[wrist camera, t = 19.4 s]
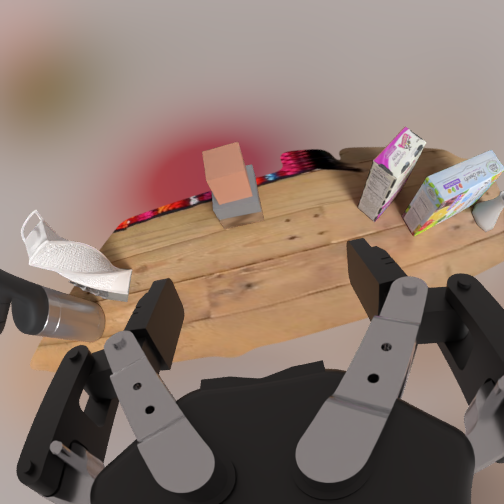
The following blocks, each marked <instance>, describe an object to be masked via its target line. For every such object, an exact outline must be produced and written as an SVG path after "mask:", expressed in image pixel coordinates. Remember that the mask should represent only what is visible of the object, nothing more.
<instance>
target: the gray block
mask: <svg viewBox="0 0 504 504" xmlns="http://www.w3.org/2000/svg"><path fill="white" fill-rule="evenodd" d="M245 167H246V170H247V174H248V179H249V183H250V187H251V191H252V195H253V196H252V197H248V198H244V199H240V200H236V201H232V202H229V203H225V204H221V205H219V203H218V201H217V200H216V198H215V196H214V194H213V192H212V201H213V211H214V212H215V214H216V216H217V217H218V219H219V220H221V219H226V218H231V217H236V216H241V215H246V214H251V213H256V212H261V207H260V201H259V195H258V189H257V184H256V178H255V174H254V170H253V166H252V165H247V166H245Z"/></svg>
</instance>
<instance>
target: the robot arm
mask: <svg viewBox="0 0 504 504" xmlns="http://www.w3.org/2000/svg"><path fill="white" fill-rule="evenodd" d="M347 259H348V273H349V279H350V282H351V285H352V287H353V289H354V291H355V293H356V294H357V296H358V298H359V300H360V302H361V304H362V306H363V308H364V309H365V311H366V313H367V315H368V317H369V319H370V321H371V323H370V325H369V327H368V330H367V332H366V334H365V336H364V338H363V340H362V342H361V344H360V346H359V349H358V350H357V352H356V354H355V356H354V358H353V360H352V362H351V364H350V366H349V368H348V370H347V371H343V370H338V369H325V367H324V364H323V361H317V362H313V363H308V364H304V365H298V366H294V367H290V368H288V369H285V370H283V371H280V372H278V373H275V374H272V375H270V376H267V377H264V378H258V379H257V378H242V377H222V378H214V379H204V380H201V386H200V389H198V390H195V391H192V392H190V393H188V394H187V395H185V396H183V397H181V398H180V399H179V400H177V401H176V400H175V398H174V397H173V395H172V394H171V392H170V391H169V389H168V388H167V387H166V385H165V384H164V382H163V381H162V379H161V378H160V376H159V372H160V370H170V369H171V365H172V361H173V357H174V353H175V349H176V346H177V342H178V338H179V335H180V331H181V327H182V324H183V320H184V309H183V305H182V303H181V301H180V298H179V296H178V294H177V291H176V289H175V287H174V284H173V282H172V280H171V279H170V278H167V279H162V280H157V281H154V282H153V284H152V286H151V288H150V290H149V292H148V293H146V294H145V295H144V296H143V297H142V298H141V299H140V300H139V302H138V303H137V305H136V309H134V311H133V314H132V315H131V317H130V319H129V321H128V323H127V325H126V327H125V329H124V331H121V332H118V333H116V334H114V335H112V336H111V337H110V338H109V339H108V340H107V341H106V343H105V345H104V349H103V350H100V351H97V352H94V353H91V352H90V351H89V349H88V348H87V347H86V346H84V345H79V346H76V347H74V348H72V349H71V350H70V351H68V352H67V354H66V355H65V356H64V358H63V360H62V362H61V364H60V366H59V368H58V370H57V372H56V374H55V376H54V378H53V380H52V382H51V384H50V386H49V388H48V390H47V392H46V394H45V396H44V399H43V401H42V403H41V405H40V408H39V410H38V412H37V414H36V417H35V419H34V421H33V424H32V426H31V429H30V431H29V434H28V436H27V439H26V442H25V444H24V447H23V449H22V452H21V455H20V458H19V461H18V464H17V476H18V479H19V480H20V481H21V482H22V483H23V484H25V485H26V486H28V487H29V488H31V489H32V490H34V491H36V492H37V493H38V494H39V495H41V496H42V497H44V498H46V499H48V500H49V501H51V502H53V503H55V504H471V488H472V480H473V475H474V474H475V473H476V472H478V471H480V470H482V469H484V468H486V467H487V466H489V465H491V464H492V463H494V462H497V463H504V309H503V308H502V307H501V306H500V305H499V303H498V302H497V301H496V300H495V299H494V298H493V297H492V295H491V294H490V293H489V292H488V291H487V290H486V289H485V288H484V286H483V285H482V284H481V283H480V282H479V281H478V280H477V279H476V278H474V277H473V276H471V275H468V274H454V275H452V276H451V277H449V279H448V281H447V287H436V288H428V286H427V284H426V283H425V282H424V281H423V280H421V279H419V278H416V277H410V276H407V275H406V274H405V272H404V271H403V270H402V269H401V268H400V267H399V265H398V264H397V263H396V262H395V261H394V260H393V259H392V258H391V257H390V255H389V254H388V253H387V252H386V251H385V250H383V249H381V248H379V247H377V246H375V247H371V246H370V245H369V244H368V243H367V242H366V240H365V239H364V238H361V239H356V240H352V241H347ZM10 303H11V304H12V315H13V320H14V323H15V325H16V327H17V328H18V329H19V330H20V331H21V332H23V333H25V334H29V335H36V336H43V337H50V338H58V339H65V340H74V341H83V342H94V341H96V340H98V339H99V338H100V337H101V335H102V333H103V331H104V327H105V316H104V313H103V310H102V308H101V307H100V306H99V305H98V304H97V303H95V302H92V301H88V300H85V299H82V298H78V297H75V296H72V295H69V294H65V293H62V292H59V291H56V290H53V289H50V288H46V287H43V286H40V285H38V284H35V283H32V282H29V281H27V280H24V279H22V278H19V277H16V276H14V275H12V274H9V273H7V272H5V271H3V270H1V269H0V334H1V333H2V331H3V329H4V326H5V323H6V319H7V315H8V311H9V307H10ZM428 343H437V344H438V346H439V348H440V349H441V351H442V353H443V355H444V357H445V359H446V360H447V362H448V364H449V366H450V368H451V370H452V372H453V374H454V376H455V378H456V380H457V382H458V384H459V386H460V388H461V390H462V392H463V394H464V396H465V399H466V401H467V403H468V405H469V407H468V409H467V410H466V413H465V416H464V423H465V428H466V434H464V433H463V432H462V431H460V430H459V429H457V428H456V427H454V426H452V425H450V424H448V423H446V422H444V421H442V420H440V419H438V418H436V417H434V416H432V415H430V414H428V413H426V412H424V411H422V410H420V409H419V408H417V407H415V406H413V405H410V404H409V403H407V402H405V401H403V400H402V399H401V398H402V395H403V392H404V389H405V386H406V382H407V380H408V376H409V373H410V370H411V367H412V364H413V360H414V357H415V354H416V350H417V346H418V344H428ZM83 389H84V390H85V391H86V392H87V393H88V395H89V399H88V402H87V404H86V407H85V410H84V412H83V411H82V410H81V408H80V406H79V399H80V396H81V393H82V391H83ZM119 401H120V404H121V406H122V408H123V410H124V413H125V415H126V417H127V419H128V422H129V424H130V426H131V428H132V430H133V432H134V434H135V436H136V438H137V439H136V440H135V441H134V442H133V443H132V444H131V445H129V446H128V447H127V448H126V449H125V450H124V451H123V452H122V453H121V454H120V455H118V456H117V457H116V458H115V459H114V460H113V461H112V462H111V463H110V464H108V465H107V466H106V467H105V466H104V464H103V463H104V458H105V454H106V449H107V446H108V441H109V437H110V433H111V429H112V426H113V422H114V418H115V414H116V411H117V407H118V404H119Z"/></svg>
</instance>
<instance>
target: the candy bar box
mask: <svg viewBox="0 0 504 504" xmlns="http://www.w3.org/2000/svg"><path fill="white" fill-rule="evenodd" d="M425 144H426V141H424V140H423V139H422V138H420V137H419V136H418V135H416V134H415V133H413V132H412V131H411V130H410V129H408V128H406V127H404V128H403V129H402V130H401V131H400V132H399V133H398V135H397V136H396V137H395V138H394V139H393V140H392V141H391V142H390V143H389V144H388V145H387V146H386V147H385V148H384V149H383V150H382V151H381V153H380V154H379V155H378V156H377V157H376V158H375V159H374V160H373V163H372V166H371V169H370V172H369V175H368V178H367V181H366V184H365V187H364V190H363V193H362V196H361V199H360V202H359V204H358V208H359V209H360V210H361V211H362V212H363V213H365V214H366V215H367V216H368V217H369V218H370V219H371V220H373V221H374V222H375V221H376V220H377V219H378V218H379V216H380V215H381V214H382V213H383V212H384V211H385V209H386V208H387V207H388V206H389V205H390V203H391V202H392V201H393V200H394V199H395V197H396V196H397V195H398V194H399V192H400V191H401V190H402V188H403V186H404V185H405V183H406V181H407V179H408V177H409V175H410V173H411V172H412V170H413V168H414V166H415V164H416V162H417V160H418V158H419V156H420V154H421V152H422V150H423V148H424V146H425Z"/></svg>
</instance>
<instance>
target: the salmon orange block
mask: <svg viewBox="0 0 504 504" xmlns="http://www.w3.org/2000/svg"><path fill="white" fill-rule="evenodd" d="M202 153H203V161H204V168H205V175H206V181H207V183H208V185H209V187H210V188H211V190H212V192H213V194H214V196H215V198H216V200H217V201H218V203H219V205H221V204H225V203H229V202H232V201H236V200H240V199H244V198H248V197H252V196H253V195H252V191H251V187H250V183H249V179H248V174H247V170H246V167H245V164H244V160H243V157H242V153H241V151H240V147H239V144H238V142H236V143H232V144H228V145H225V146H221V147H217V148H214V149H211V150H207V151H203V152H202Z"/></svg>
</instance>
